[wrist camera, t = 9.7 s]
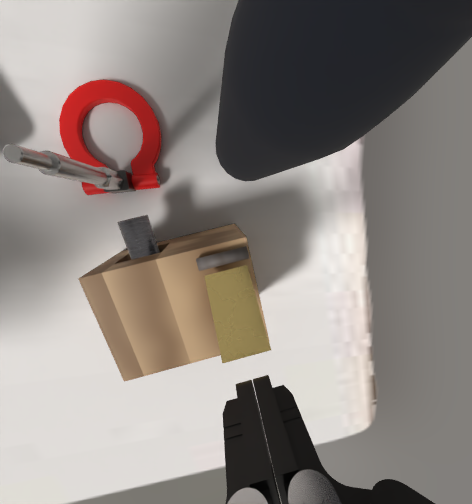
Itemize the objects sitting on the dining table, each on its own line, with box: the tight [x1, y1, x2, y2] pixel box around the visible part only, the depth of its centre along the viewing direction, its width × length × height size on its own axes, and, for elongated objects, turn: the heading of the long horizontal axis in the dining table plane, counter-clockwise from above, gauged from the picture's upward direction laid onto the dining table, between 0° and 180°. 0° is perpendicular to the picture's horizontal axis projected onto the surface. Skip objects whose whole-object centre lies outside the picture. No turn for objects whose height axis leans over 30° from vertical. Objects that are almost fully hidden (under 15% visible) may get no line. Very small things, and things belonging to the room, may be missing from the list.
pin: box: [118, 215, 160, 260], centre depth 21 cm, size 13×5×5 cm, turn 13°
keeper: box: [204, 265, 271, 363], centre depth 15 cm, size 3×6×1 cm
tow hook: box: [3, 80, 161, 195], centre depth 15 cm, size 8×13×9 cm
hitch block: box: [79, 224, 269, 381], centre depth 20 cm, size 12×9×9 cm
